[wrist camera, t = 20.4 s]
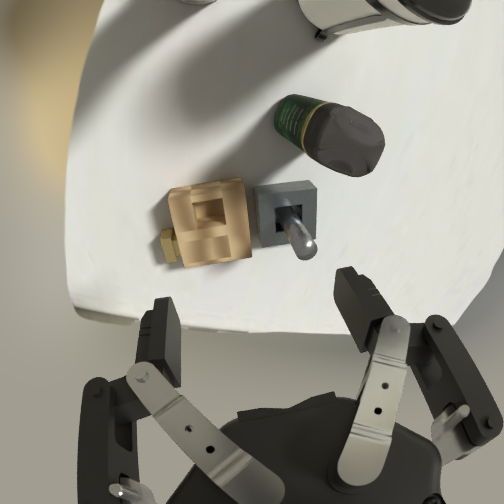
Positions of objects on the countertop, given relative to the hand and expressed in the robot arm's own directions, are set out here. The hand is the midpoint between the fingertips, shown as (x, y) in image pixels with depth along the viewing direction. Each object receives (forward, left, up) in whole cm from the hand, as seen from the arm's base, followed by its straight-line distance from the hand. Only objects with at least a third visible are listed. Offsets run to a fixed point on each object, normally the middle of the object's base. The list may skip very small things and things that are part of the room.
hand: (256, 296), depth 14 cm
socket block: (+14, -3, -36) cm, 39 cm away
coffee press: (-24, +21, -36) cm, 48 cm away
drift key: (+17, -8, -36) cm, 41 cm away
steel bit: (+14, +10, -35) cm, 39 cm away
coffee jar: (-2, +14, -36) cm, 39 cm away
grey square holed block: (+14, +10, -36) cm, 40 cm away
